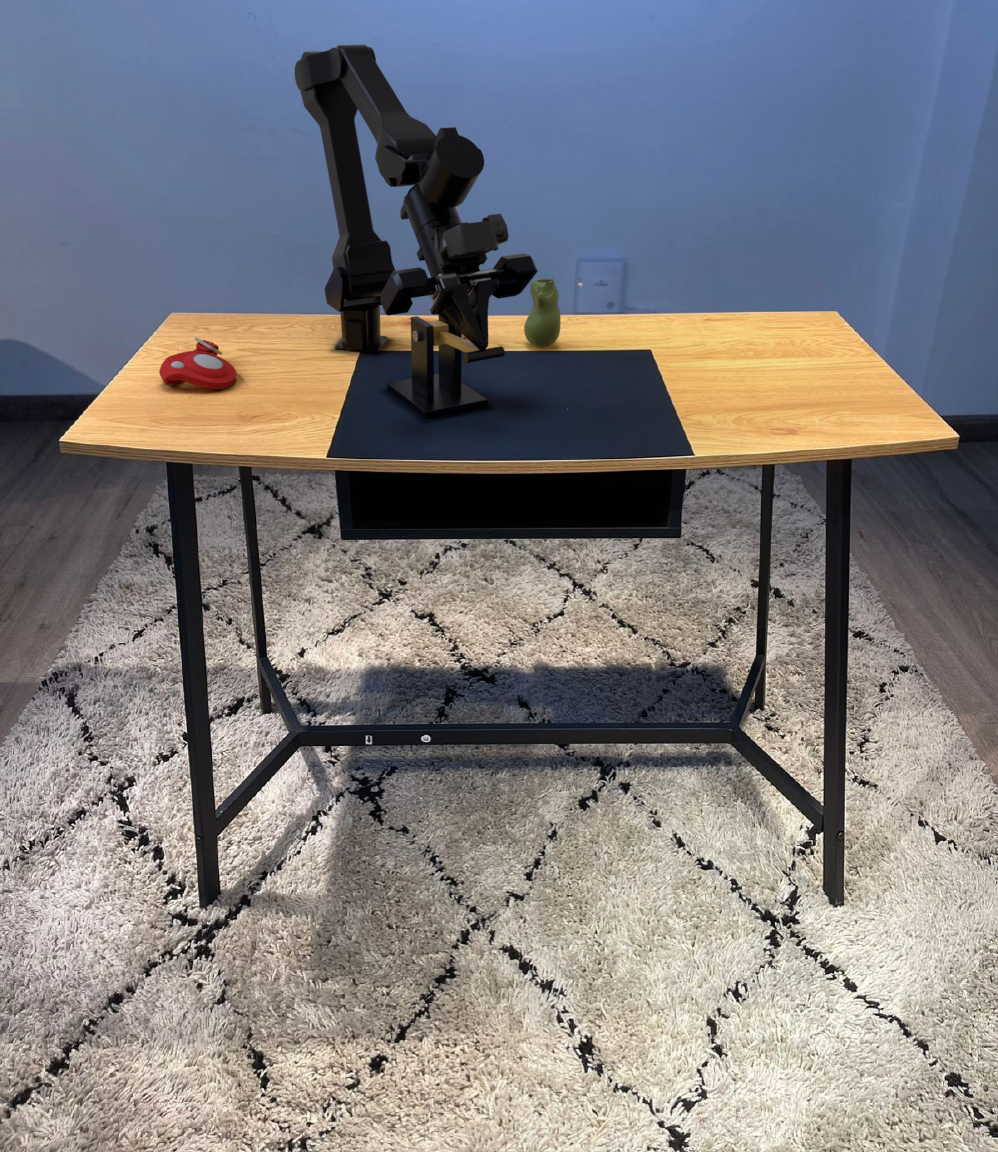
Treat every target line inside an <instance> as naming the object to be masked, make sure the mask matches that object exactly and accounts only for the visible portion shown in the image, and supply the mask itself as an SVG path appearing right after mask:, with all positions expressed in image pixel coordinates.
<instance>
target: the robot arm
mask: <svg viewBox="0 0 998 1152" xmlns="http://www.w3.org/2000/svg"><path fill="white" fill-rule="evenodd" d="M294 80H295V84H296V87H297V89H298V90H299V91H300V96H301V99H302V103H303V106H304V108H305V110H306V111H307V112H308V114H309V115H310V116H311V118H313V120H314V121H315V122H316V123H317V125H318V126H319V131H320V135H321V140H322V146H323V147H322V148H323V151H324V157H325V162H326V168H327V174H328V180H329V183H330V184H329V185H330V190H331V195H332V202H333V206H334V212H335V218H336V223H337V229H338V236H339V237H338V240H337V242H336V245H335V248H334V251H333V254H332V256H331V261H332V271H331V274H330V276H329V278H328V280H327V282H326V285H325V286H324V295H325V300H326V304H327V305H328V306H329V307H331V308H332V309H334V310H335V311H337V312H338V313H339V315H340V329H341V339H340V340H339V341H338V342H337V343H336V344H335V346H334V350H335V351H341V352H352V353H353V352H354V353H355V352H356V353H364V354H365V353H366V354H378V353H379V352H380V351H381V350H382V349H383V347H384V346H385V344H386V343H387V341H389V337H388V336H386V335H382V332H381V331H382V330H381V308H380V307H381V306H382V310H383V312H384V314H385V315H386V316H388V317H389V316H394V315H401V314H402V315H403V314H407V313H409V312H410V310H411V308H412V306H413V302H414V301H413V300H412V299H415V298H421V297H428V296H429V297H430V299H431V301H432V306H431V307H430V309H429V311H430V314H431V315H433V316H435V315H438V317H439V316H441V317H442V318H443V319H445V320H446V321H447V322H448V323H450V324H451V325H452V326H454V327H455V328H456V329H457V330H458V331H459V332H461V333H462V334H463V335H464V336H465V337H464V338H466V340H467V341H469V342H471V343H473V344H474V345H475V346H476V347H477V348H478V349H479V350H483V349H488V347H489V303H490V298H491V297H492V296H493V297H494V298H496V299H506V298H512V297H516V296H518V295H520V294H522V293H523V291H524V290H525V289H526V287H527V286H528V285H529V284H530V283H531V282H532V279H533V278H534V277H535V276H536V275H537V273H538V272H539V271H538V267H537V266H536V263H535V261H534V258H533V257H532V256H531V255H529V254H527V253H517V254H510V255H503V256H500V258H499V259H498V260H497V261H496V264H495V265H494V267H493V268H491V269H484V270H481V269H480V266H481V265H485V263H486V261H487V260H488V257H487V254H488V253H490V252H492V251H494V252H497V251H498V250H499V245H501V244H504V243H506V242H508V240H509V236H510V235H509V230H508V225H507V222H506V221H505V219H504V216H503V215H502V213H493V214H488V215H487V216H486V217H485V216H484V217H483V218H482V221H475V222H474V221H473V222H462V219H461V217H460V215H459V213H458V209H457V207H459V206H460V205H462V204H463V203H464V202H465V200H466V199H467V198H468V195H469V194H470V192H471V190H472V188H473V187H474V185H475V183H476V182H477V180H478V178H479V177H480V175H481V173H482V172H483V170H484V167H485V157H484V153H483V151H482V150H481V148H479V147H478V146H477V145H476V144H475V143H474V142H473V141H472V140H471V139H469V138H468V137H465V136H463V135H460V134H459V132H458V130H457V127H455V126H450V127H440V128H439V129H438V132H437V133H436V134H435V132H434V131H433V130H432V129H431V128H430V127H429V125H428V124H426V123H425V122H423V121H420V120H418V119H416V118H414V117H412V116H411V115H410V114H409V113H408V112H407V111H406V108H405V107H404V105H403V104H402V102H401V100H400V98H399V97H398V96H397V94H396V92H395V90H394V89H393V87H392V85H391V84H390V82H389V80H388V79H387V78H386V76H385V74H384V73H383V72H382V69H381V68H380V67H379V65H378V63H377V57H376V54H375V51H374V49H373V48H372V46H368V45H366V44H338V45H336V46H335V47H331V48H330V49H328V50H325V51H324V50H323V51H322V50H320V51H319V50H318V51H304V52H303V53H302V55H301V57H300V59H299V60H297V61H296V63H295V64H294ZM358 112H359V114H360V115H361V117H362V119H363V121H364V122H365V124H366V126H367V127H368V129H369V131H370V132H371V134H372V136H373V138H374V140H375V142H376V144H377V145H376V150H375V156H374V160H375V162H376V164H377V168H378V171H379V174H380V176H381V177H382V178H383V180H384V182H385V183H386V184H387V186H389V187H390V188H399V187H410V188H409V190H408V191H407V193H406V195H404V197H403V201H402V206H401V208H400V214H399V215H400V216H399V217H400V219H401V220H409V223H410V225H411V228H412V230H413V233H414V236H415V239H416V241H417V243H418V247H419V249H418V250H417V252H416V256H417V259H418V261H419V262H422V261H424V262H425V265H426V268H427V270H428V272H429V275H430V277H429V276H428V275H427V272H426V269H424V268H422V267H412V268H404V269H397V270H396V268H395V265H394V263H393V258H392V249H391V245H390V244H389V242H388V240H382V239H381V237H380V236H379V235H378V234H377V233H376V231H375V230H374V226H373V219H372V213H371V208H370V202H369V197H368V196H369V195H368V190H367V184H366V179H365V172H364V167H363V162H362V156H361V150H360V149H361V148H360V144H359V139H358V132H357V126H356V119H355V118H356V116H357V113H358Z"/></svg>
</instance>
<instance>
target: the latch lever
mask: <svg viewBox="0 0 998 1152" xmlns="http://www.w3.org/2000/svg"><path fill="white" fill-rule="evenodd" d="M427 322H428V323H429V324H431V325H433V331H434V347H436V346H439V345H443V344H448V345H450V346H452V347H455V348H457V349H459V350H461V351H462V353H463V355H462V356H463V357H462V358H463V361H464V363H465V364H470V363H474V362H481V361H486V360H491V359H497V358H502V357H505V354H506V351H505V348H504V346H494V347H489V348H488V347H487V348H486V349H483V350H479V349H478V348H477V347H476V346H475V345H474V344H473V343H471V342H470V341H469V340H468V339H464V338H463V339H462V338H460V337H458V336H455V335H453V334H451V333H449V325H448V324H446V323H443V322H441V321H439V319H437V320H431V321H427Z"/></svg>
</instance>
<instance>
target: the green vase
mask: <svg viewBox="0 0 998 1152" xmlns="http://www.w3.org/2000/svg"><path fill="white" fill-rule="evenodd" d="M555 284H556V283H555V280H554V279H553V278H551V279H550V278H547V277H542V278H539V279H537V280H533V281H530V290H529V291H530V295H531V299H532V302H533V305H532V308H531V310H530V312H529V314H528V316H527V318H526V320H525V322H524V325H523V333H524V336H525V338H526V340H527V341H528V343H529V344H531V345H532V346H533V347H537V348H547V347H550V346H552V345H553V344H555V343H556V342H557V340H558V338H559V337H560V333H561V325H562V323H561V321H562V320H561V311H560V307H559V295H560V294H559V291H558V288H557V286H555Z"/></svg>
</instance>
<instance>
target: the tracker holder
mask: <svg viewBox="0 0 998 1152" xmlns="http://www.w3.org/2000/svg"><path fill="white" fill-rule="evenodd" d="M194 341H196V342H197V343H196V344H195V349H193V350H188V351H187V350H186V351H183V352H178V353H175V354H172V355H169V356H167V357H165V359H164V360H163V362H162V363H161V365H160V368H159V371H158V372H159V376H160V378H161V379H162V382H163V383H164V385H166V386H172V385H175V384H177V383H180V382H181V381H183V382H185V383H187V384H191V385H194V386H198V387H202V388H205V389H212V390H221V389H227V388H229V387H231V386H233V385H234V384H235V381H236V378H237V370H236V369H235V367H234V365H233V364H232V363H230V362H229V360H226V359H225V358H223V357H221V356H222V355H223V352H222V351H221V350H219V348H220V347H219V345H218V344H215V343H214V342H213V341H209V340H206V339H201V338H200V337H199V338H198V337H196V336H195V337H194ZM219 355H220V356H219Z"/></svg>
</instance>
